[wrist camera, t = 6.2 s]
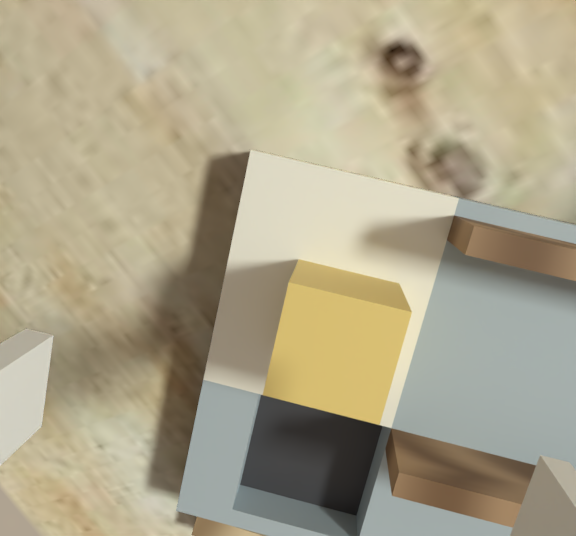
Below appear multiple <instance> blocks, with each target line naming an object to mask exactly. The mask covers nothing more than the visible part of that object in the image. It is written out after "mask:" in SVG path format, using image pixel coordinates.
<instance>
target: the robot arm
mask: <svg viewBox="0 0 576 536" xmlns="http://www.w3.org/2000/svg"><path fill="white" fill-rule="evenodd" d="M53 337H54V335H51V334H47V333H43V332H39V331H35V330H31V329H27V328H26V329H24V330H22V331H21V332H19V333H17V334H15V335H14V336H12V337H10V338H9V339H7V340H5V341H3V342H2V343H0V465H1V464H3V463H4V462H5V461H6V460H7V459H8V458H9V457H10V456H11V455H12V454H13V453H14V452H15V451H16V450H17V449H18V448H19V447H20V446H22V445H23V444H24V443H25V442H26V441H27V440H28V439H29V438H30V437H31V436H32V435H33V434H34V433H35V432H36V431H37V430H38V429H39V428H41V427H42V420H43V412H44V405H45V397H46V389H47V382H48V374H49V367H50V359H51V352H52V344H53ZM510 536H576V470H575V469H574V468H573V466H572V465H571V464H570V462H567V461H562V460H558V459H554V458H550V457H546V456H542V455H540V457H539V459H538V462H537V465H536V467H535V470H534V473H533V476H532V478H531V481H530V484H529V486H528V489H527V492H526V494H525V497H524V500H523V502H522V505H521V508H520V510H519V513H518V516H517V518H516V521H515V524H514V527H513V529H512V532H511V535H510Z"/></svg>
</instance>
